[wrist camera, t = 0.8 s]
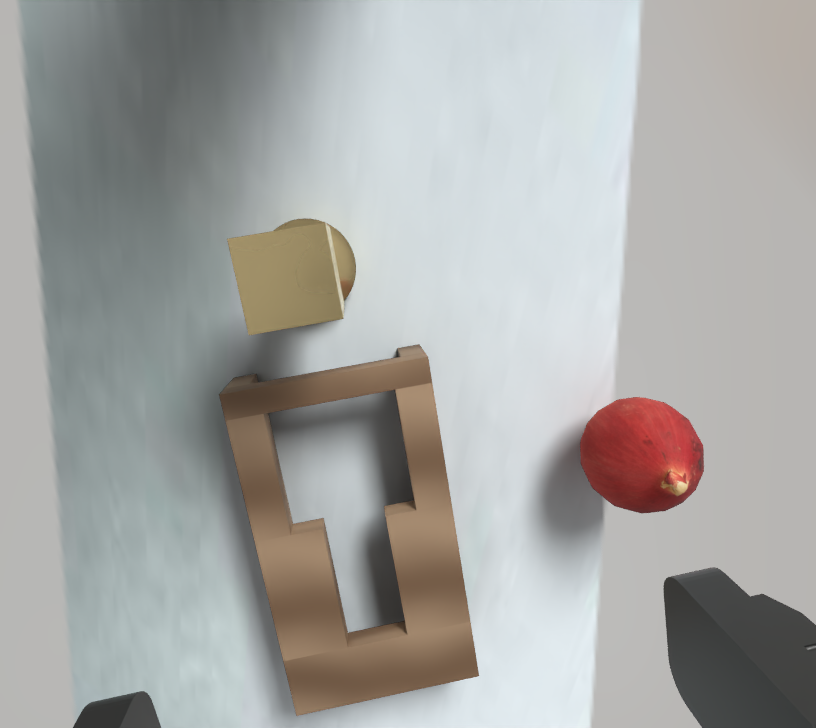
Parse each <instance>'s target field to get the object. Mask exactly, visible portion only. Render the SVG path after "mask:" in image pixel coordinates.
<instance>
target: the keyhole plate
mask: <svg viewBox="0 0 816 728" xmlns="http://www.w3.org/2000/svg"><path fill="white" fill-rule="evenodd" d="M397 350H398V355H399V357H396V358H391V359H385V360H380V361H374V362H369V363H363V364H358V365H352V366H347V367H341V368H336V369H330V370H325V371H319V372H314V373H308V374H302V375H297V376H291V377H286V378H280V379H275V380H269V381H264V382H258V379H257V374H252V375H247V376H241V377H235V378H233V379H232V380H231V382H230V383H229V384H228V385H227V386H226V387H225V389H224V390H223V391H222V392H221V393H220V394H219V396H220V400H221V404H222V409H223V413H224V417H225V421H226V425H227V429H228V434H229V438H230V442H231V446H232V450H233V454H234V458H235V463H236V467H237V471H238V475H239V479H240V483H241V487H242V492H243V496H244V500H245V504H246V508H247V512H248V516H249V521H250V525H251V529H252V533H253V537H254V541H255V546H256V550H257V554H258V558H259V562H260V566H261V570H262V575H263V579H264V583H265V587H266V591H267V595H268V599H269V604H270V608H271V612H272V616H273V620H274V624H275V628H276V633H277V637H278V641H279V645H280V649H281V653H282V658H283V662H284V666H285V670H286V674H287V678H288V682H289V687H290V691H291V695H292V699H293V703H294V707H295V711H296V716H298V715H303V714H307V713H312V712H317V711H321V710H326V709H330V708H335V707H340V706H344V705H349V704H353V703H358V702H362V701H367V700H372V699H376V698H381V697H385V696H390V695H395V694H399V693H404V692H408V691H413V690H418V689H422V688H427V687H431V686H436V685H440V684H445V683H450V682H454V681H459V680H463V679H468V678H473V677H477V676H479V673H478V667H477V661H476V654H475V648H474V642H473V636H472V629H471V623H470V617H469V611H468V604H467V598H466V592H465V585H464V579H463V573H462V567H461V560H460V554H459V548H458V542H457V535H456V529H455V523H454V517H453V510H452V504H451V498H450V492H449V485H448V479H447V473H446V467H445V460H444V454H443V448H442V441H441V435H440V429H439V423H438V416H437V410H436V404H435V398H434V391H433V385H432V379H431V373H430V366H429V360H428V356H427V355H426V353H425V352H424V351H423V349H422V348H421V346H420V345H413V346H408V347H402V348H397ZM390 390H395V394H396V400H397V405H398V411H399V417H400V423H401V428H402V434H403V440H404V446H405V451H406V457H407V463H408V469H409V474H410V480H411V486H412V491H413V497H414V500H413V501H408V502H403V503H397V504H392V505H387V506H384V509H385V517H386V522H387V527H388V533H389V538H390V543H391V549H392V554H393V559H394V565H395V570H396V575H397V581H398V586H399V592H400V597H401V602H402V608H403V613H404V618H405V621H402V622H398V623H393V624H388V625H383V626H379V627H374V628H369V629H364V630H360V631H355V632H350V633H348V631H347V627H346V622H345V617H344V612H343V608H342V603H341V598H340V594H339V589H338V584H337V579H336V575H335V570H334V565H333V560H332V556H331V551H330V546H329V542H328V537H327V532H326V527H325V523H324V518H321V519H316V520H311V521H306V522H301V523H296V524H293V522H292V517H291V513H290V509H289V504H288V500H287V495H286V491H285V486H284V482H283V477H282V473H281V468H280V464H279V459H278V455H277V451H276V446H275V442H274V437H273V433H272V428H271V424H270V419H269V415H268V413H271V412H276V411H282V410H287V409H293V408H298V407H303V406H309V405H314V404H320V403H325V402H330V401H336V400H341V399H347V398H352V397H358V396H363V395H368V394H374V393H379V392H385V391H390Z"/></svg>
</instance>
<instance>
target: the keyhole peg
mask: <svg viewBox="0 0 816 728" xmlns="http://www.w3.org/2000/svg"><path fill="white" fill-rule="evenodd" d="M227 240H228V245H229V249H230V254H231V258H232V263H233V267H234V272H235V276H236V280H237V285H238V289H239V294H240V298H241V303H242V307H243V312H244V316H245V321H246V325H247V329H248V334H249V335H254V334H259V333H265V332H271V331H276V330H282V329H288V328H293V327H299V326H305V325H311V324H316V323H322V322H328V321H333V320H339V319H343V317H344V300H345V299H346V297H347V296H348V294H349V293H350V291H351V289H352V287H353V284H354V280H355V274H356V264H355V258H354V254H353V251H352V249H351V247H350V245H349V243H348V242H347V240H346V239H345V237H344V236H343V235H342V234H341V233H340V232H339V231H338V230H336V229H335V228H334V227H332V226H331V225H329V224H327V223H324V222H322V221H319V220H314V219H297V220H292V221H289V222H287V223H284V224H283V225H281V226H279V227H278V228H276V229H275V230H274V231H272V232H266V233H260V234H254V235H248V236H242V237H235V238H229V239H227Z"/></svg>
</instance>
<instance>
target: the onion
mask: <svg viewBox="0 0 816 728" xmlns="http://www.w3.org/2000/svg"><path fill="white" fill-rule="evenodd" d="M580 454H581V465H582V467H583V469H584V472H585V474H586V476H587V478H588V480H589V482H590V484H591V486H592V488H593V489H594V490H596V491H597V492H598V493H599V494H600V495H601V496H603V497H604V498H605V499H606V500H607V501H609V502H610V503H611V504H613V505H614V506H617V507H620V508H623V509H628V510H631V511H635V512H639V513H650V512H659V511H666V510H668V509H670V508H672V507H675V506H677V505H679V504H681V503H682V502H684V501H685V500H686V499H687V498H688V497H689V496H690V495H691V494H692V493H693V492H694V491H695V490H696V487H697V485H698V483H699V480H700V478H701V476H702V474H703V471H704V461H703V445H702V443H701V441H700V439H699V437H698V436H697V434H696V432H695V430H694V428H693V427H692V425H691V423H690V421H689V420H688V419H687V418H686V417H684V416H683V415H682V414H680V413H679V412H678V411H676V410H675V409H673V408H672V407H671V406H669V405H667V404H665V403H664V402H660V401H656V400H651V399H647V398H640V397H633V398H626V399H619V400H616V401H614V402H613V403H611V404H609V405H608V406H606V407H604V408H602V409H601V410H599V411H598V412H597V413H596V414H595V415H594V416H593V417H592V419H591V420H590V421H589V422H588V423H587V425H586V428H585V430H584V433H583V435H582V438H581V442H580Z"/></svg>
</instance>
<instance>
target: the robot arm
mask: <svg viewBox="0 0 816 728" xmlns="http://www.w3.org/2000/svg"><path fill="white" fill-rule="evenodd" d="M664 602H665V615H666V628H667V642H668V656H669V663H670V668H671V672H672V675H673V678H674V681H675V684H676V686H677V688H678V691H679V693H680V695H681V697H682V698H683V700H684V702H685V704H686V705H687V707H688V708H689V710H690V711H691V712H692V713H693V715H694V717H695V718H696V719H697V721H698V722H699V724H700V725H701V726H702V728H816V625H815V624H814V623H812V622H811V621H810V620H809V619H808V618H807V617H806V616H804V615H803V614H802V613H800V612H798V611H796V610H794V609H792V608H790V607H788V606H786V605H784V604H782V603H780V602H778V601H776V600H774V599H772V598H770V597H768V596H766V595H764V594H760V595H755V596H751V597H750V596H749V595H748V594H747V593H745V592H744V591H743V590H742V589H741V588H740V587H739V586H738V585H737V584H736V583H735V582H733V581H732V580H731V579H730V578H729V577H728V576H727V575H726V574H725V573H724V572H722V571H721V570H720V569H718V568H708V569H703V570H699V571H694V572H690V573H685V574H681V575H676V576H672V577H668V578H666V580H665V582H664ZM73 728H161V726H160V723H159V720H158V717H157V714H156V711H155V708H154V705H153V703H152V700H151V698H150V696H149V695H148V694H147V693H146V692H144V691H141V692H136V693H131V694H127V695H122V696H118V697H113V698H109V699H104V700H100V701H95V702H91V703H89V704H88V705H87V706H86V707H85V708H84V709H83V711H82V712H81V714H80V716H79V718H78V719H77V721H76V723H75V725H74V727H73Z"/></svg>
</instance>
